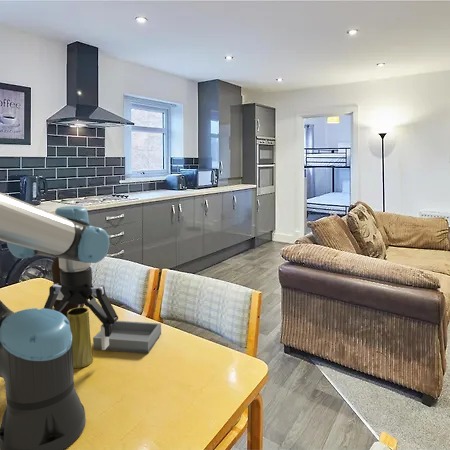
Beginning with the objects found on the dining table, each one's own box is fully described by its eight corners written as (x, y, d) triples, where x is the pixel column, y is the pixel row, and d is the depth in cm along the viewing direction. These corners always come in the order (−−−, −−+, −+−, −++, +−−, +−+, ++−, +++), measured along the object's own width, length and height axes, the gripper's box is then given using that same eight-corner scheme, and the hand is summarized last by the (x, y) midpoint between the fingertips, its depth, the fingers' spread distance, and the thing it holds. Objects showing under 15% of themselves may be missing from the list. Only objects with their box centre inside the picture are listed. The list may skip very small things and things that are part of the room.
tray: (148, 353, 102) (148, 341, 102) (93, 349, 104) (93, 337, 104) (161, 334, 114) (161, 323, 114) (111, 330, 116) (111, 320, 116)
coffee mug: (72, 331, 116) (70, 300, 114) (47, 328, 117) (45, 298, 116) (92, 316, 127) (91, 288, 125) (69, 314, 129) (68, 286, 127)
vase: (63, 366, 96) (59, 314, 93) (79, 354, 101) (76, 305, 99) (83, 370, 94) (79, 317, 92) (98, 358, 100) (95, 308, 97)
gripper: (128, 265, 96) (131, 341, 99) (39, 261, 99) (45, 335, 102) (116, 274, 88) (120, 356, 92) (20, 269, 91) (27, 349, 95)
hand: (81, 345), depth 97 cm, fingers open, 13 cm apart
